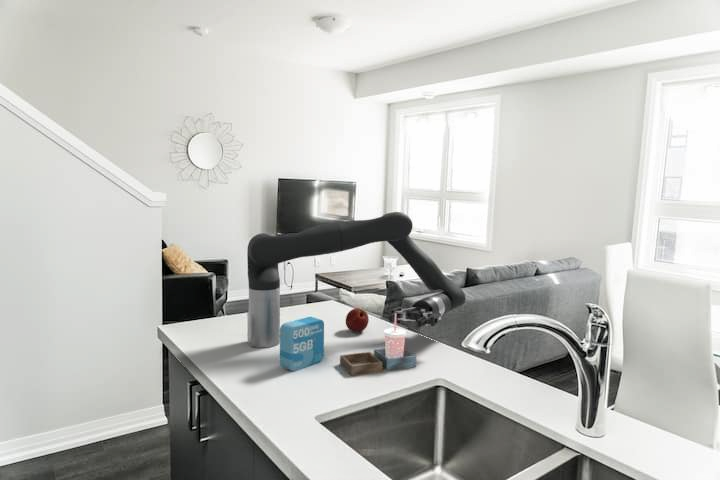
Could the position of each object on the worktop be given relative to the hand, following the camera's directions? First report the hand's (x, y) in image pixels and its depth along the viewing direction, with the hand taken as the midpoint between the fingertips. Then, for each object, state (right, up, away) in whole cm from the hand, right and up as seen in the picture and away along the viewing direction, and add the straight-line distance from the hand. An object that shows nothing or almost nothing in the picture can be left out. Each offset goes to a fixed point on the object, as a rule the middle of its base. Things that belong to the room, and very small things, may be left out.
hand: (404, 321), depth 137 cm
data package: (-28, -11, -5) cm, 30 cm away
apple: (-14, -8, +26) cm, 30 cm away
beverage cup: (-3, -11, -3) cm, 12 cm away
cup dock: (-7, -11, -5) cm, 14 cm away
